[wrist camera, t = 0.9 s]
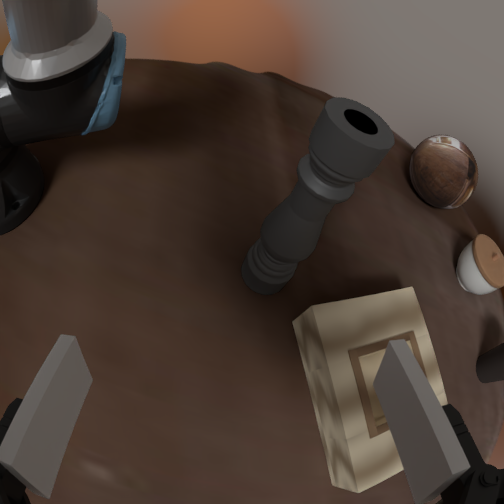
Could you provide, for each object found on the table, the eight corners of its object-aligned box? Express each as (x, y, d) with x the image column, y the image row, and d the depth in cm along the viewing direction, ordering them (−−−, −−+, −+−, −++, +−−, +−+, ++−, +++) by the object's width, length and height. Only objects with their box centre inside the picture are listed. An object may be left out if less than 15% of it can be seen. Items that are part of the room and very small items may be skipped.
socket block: (292, 321, 39) (312, 304, 34) (387, 302, 44) (413, 285, 39) (332, 485, 30) (359, 493, 24) (424, 438, 35) (455, 436, 29)
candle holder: (294, 267, 43) (401, 128, 22) (274, 304, 40) (391, 167, 19) (255, 243, 43) (335, 86, 22) (232, 277, 40) (309, 115, 19)
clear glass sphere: (391, 157, 63) (428, 108, 50) (441, 181, 65) (478, 141, 52) (400, 208, 55) (448, 156, 43) (453, 232, 57) (500, 191, 44)
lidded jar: (450, 294, 48) (487, 271, 41) (445, 246, 54) (476, 220, 46) (483, 308, 49) (518, 289, 42) (477, 263, 55) (507, 241, 47)
